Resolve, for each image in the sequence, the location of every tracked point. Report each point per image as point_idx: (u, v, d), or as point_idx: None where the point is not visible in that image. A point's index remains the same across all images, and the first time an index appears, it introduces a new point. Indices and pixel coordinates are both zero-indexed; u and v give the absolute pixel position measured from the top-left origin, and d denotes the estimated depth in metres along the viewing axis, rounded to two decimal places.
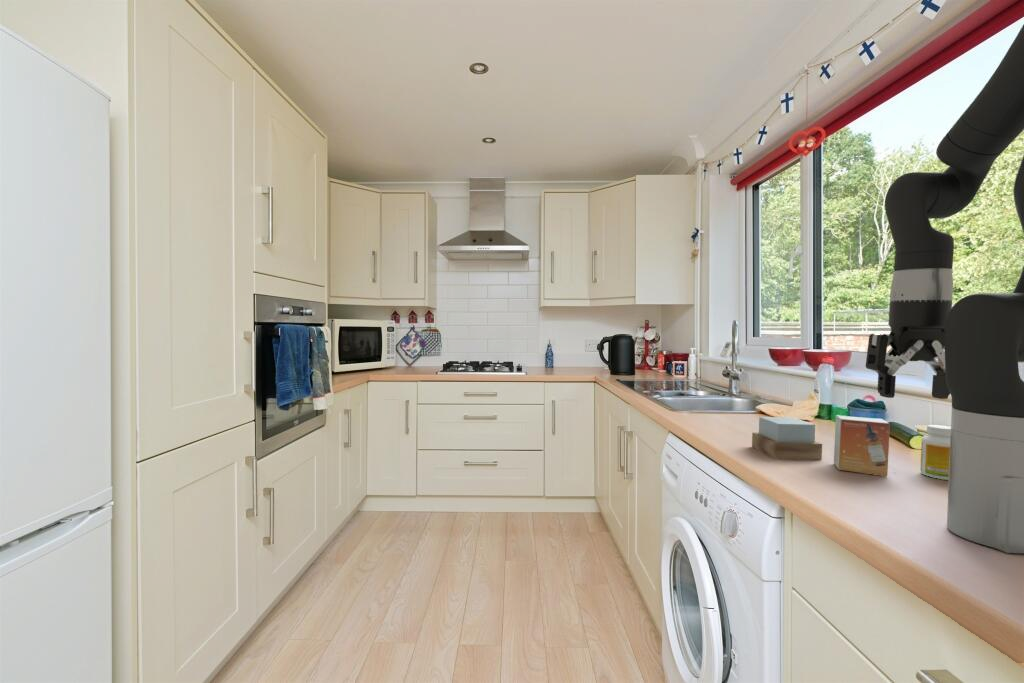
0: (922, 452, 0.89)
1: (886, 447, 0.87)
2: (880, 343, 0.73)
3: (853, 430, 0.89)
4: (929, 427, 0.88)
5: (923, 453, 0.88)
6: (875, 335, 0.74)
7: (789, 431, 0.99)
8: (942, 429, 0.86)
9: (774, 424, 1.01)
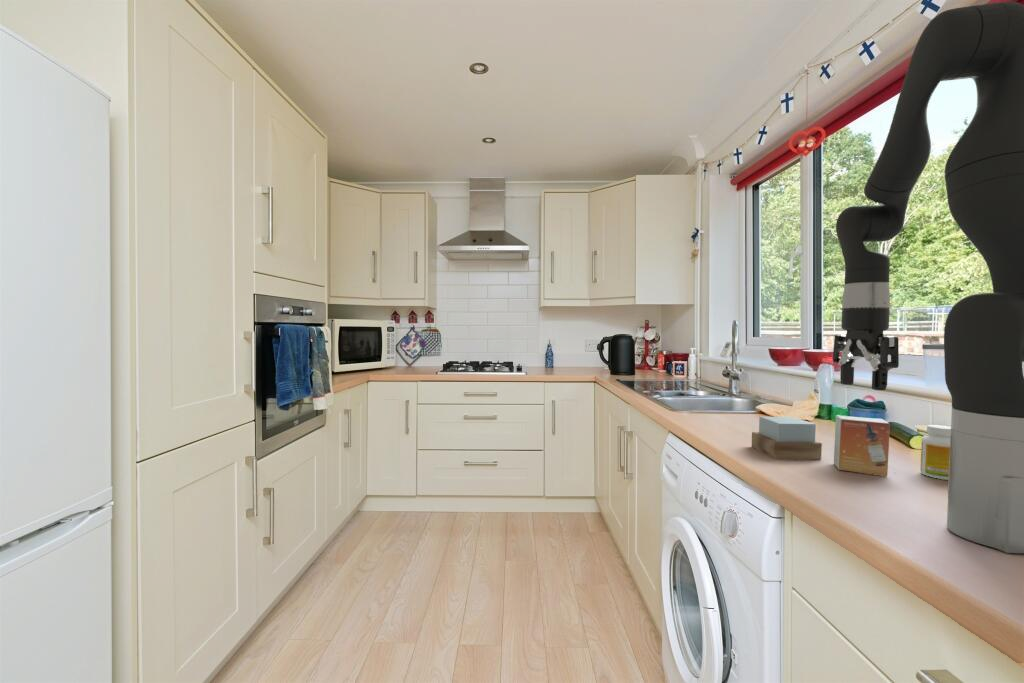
0: (922, 452, 0.89)
1: (886, 447, 0.87)
2: (897, 344, 0.84)
3: (853, 430, 0.89)
4: (929, 427, 0.88)
5: (923, 453, 0.88)
6: (890, 337, 0.84)
7: (790, 431, 0.99)
8: (942, 429, 0.86)
9: (775, 424, 1.01)
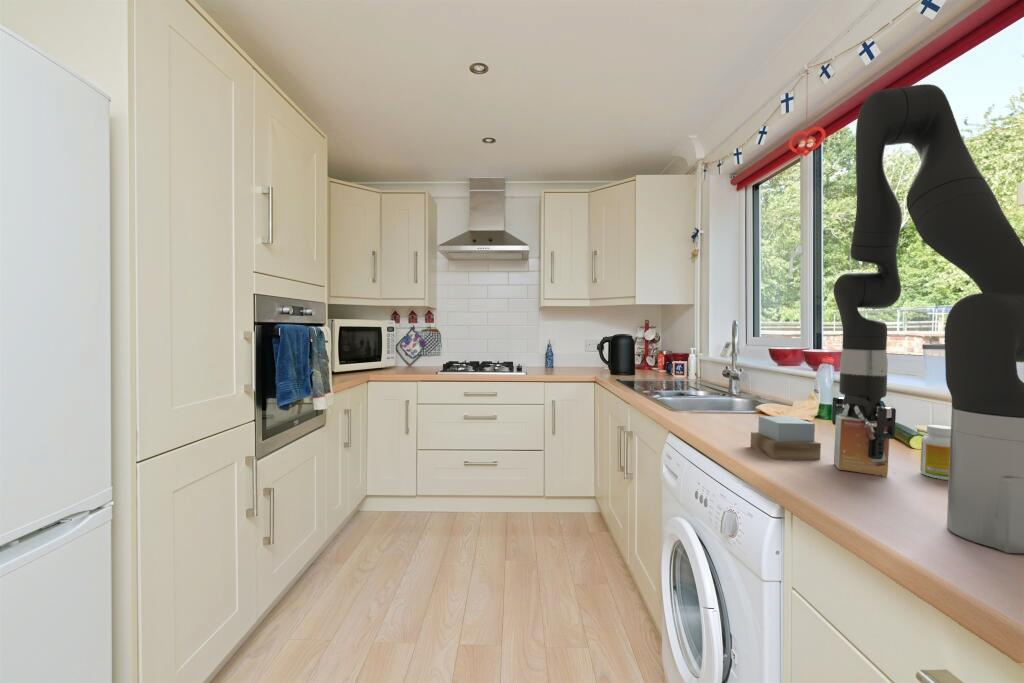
0: (922, 452, 0.89)
1: (886, 447, 0.87)
2: (894, 416, 0.84)
3: (853, 430, 0.89)
4: (929, 427, 0.88)
5: (923, 453, 0.88)
6: (888, 409, 0.84)
7: (789, 430, 0.99)
8: (942, 429, 0.86)
9: (774, 424, 1.01)
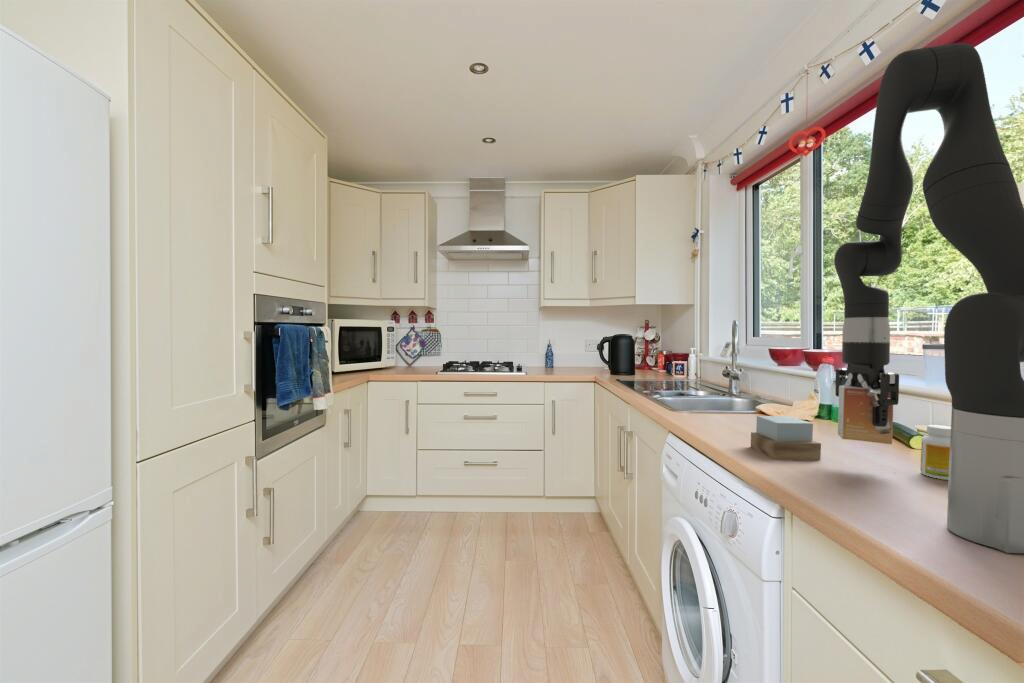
0: (922, 452, 0.89)
1: (890, 414, 0.86)
2: (898, 381, 0.84)
3: (857, 398, 0.89)
4: (929, 427, 0.88)
5: (923, 453, 0.88)
6: (891, 374, 0.84)
7: (788, 430, 1.00)
8: (942, 429, 0.86)
9: (773, 423, 1.01)
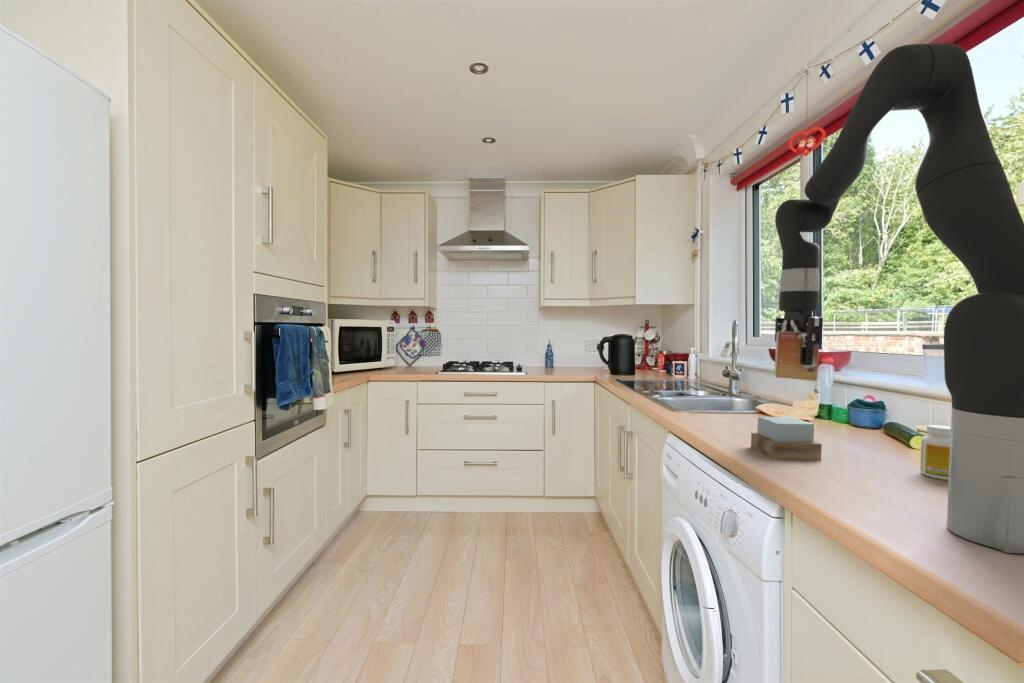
0: (922, 452, 0.89)
1: (816, 354, 0.98)
2: (822, 324, 0.95)
3: (789, 341, 1.00)
4: (929, 427, 0.88)
5: (923, 453, 0.88)
6: (816, 318, 0.95)
7: (788, 431, 0.99)
8: (942, 429, 0.86)
9: (773, 424, 1.00)
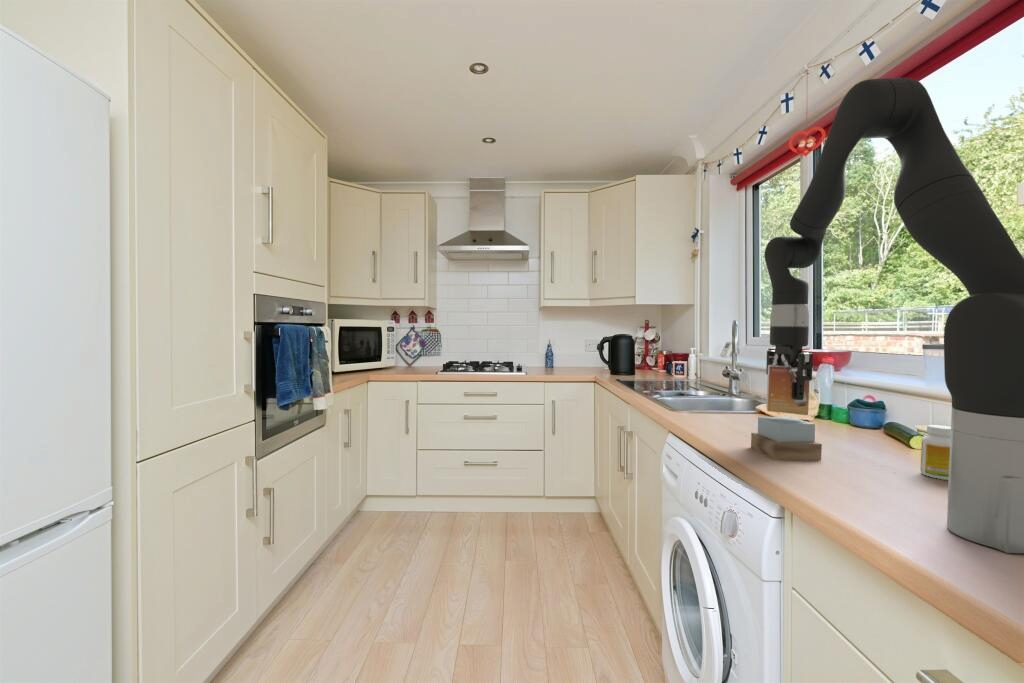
0: (922, 452, 0.89)
1: (807, 389, 0.99)
2: None
3: (780, 375, 1.01)
4: (929, 427, 0.88)
5: (923, 453, 0.88)
6: (806, 354, 0.96)
7: (790, 431, 0.99)
8: (942, 429, 0.86)
9: (775, 424, 1.00)
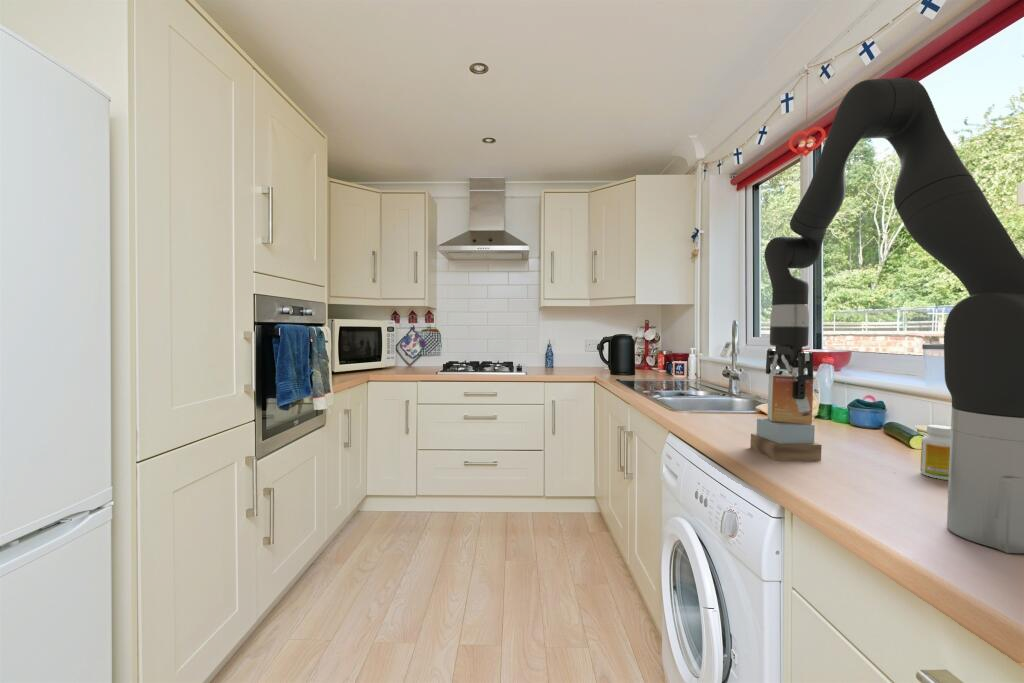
0: (922, 452, 0.89)
1: (810, 398, 0.98)
2: None
3: (783, 385, 1.00)
4: (929, 427, 0.88)
5: (923, 453, 0.88)
6: (806, 352, 0.96)
7: (790, 432, 0.98)
8: (942, 429, 0.86)
9: (775, 426, 0.99)
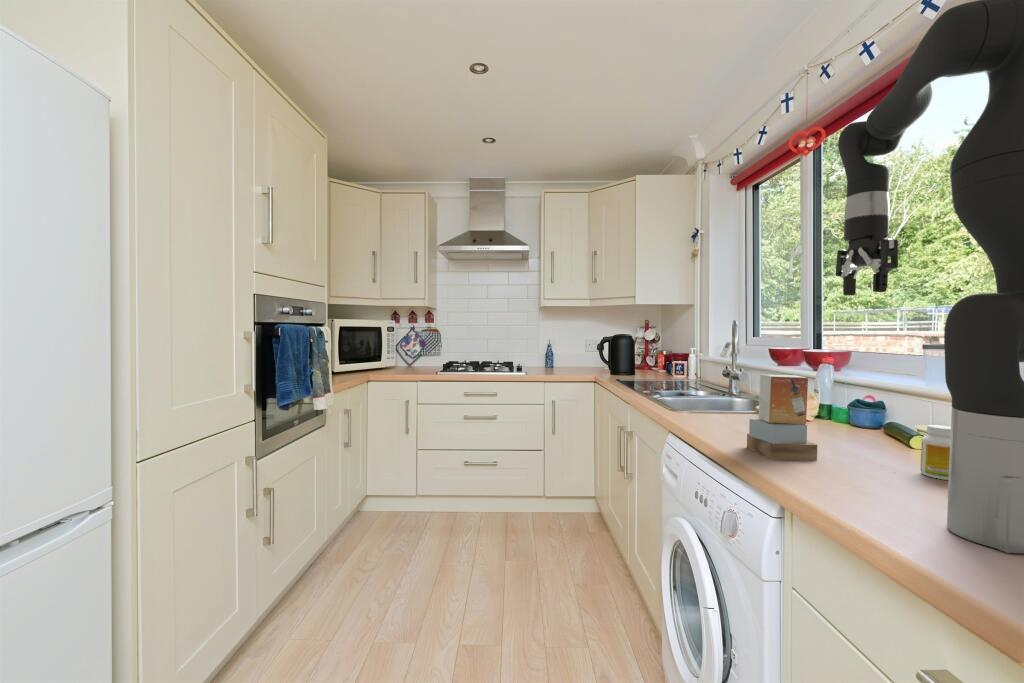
0: (922, 452, 0.89)
1: (805, 399, 0.99)
2: (897, 245, 0.89)
3: (781, 385, 0.99)
4: (929, 427, 0.88)
5: (923, 453, 0.88)
6: (890, 239, 0.89)
7: (784, 433, 0.98)
8: (942, 429, 0.86)
9: (769, 426, 0.99)
